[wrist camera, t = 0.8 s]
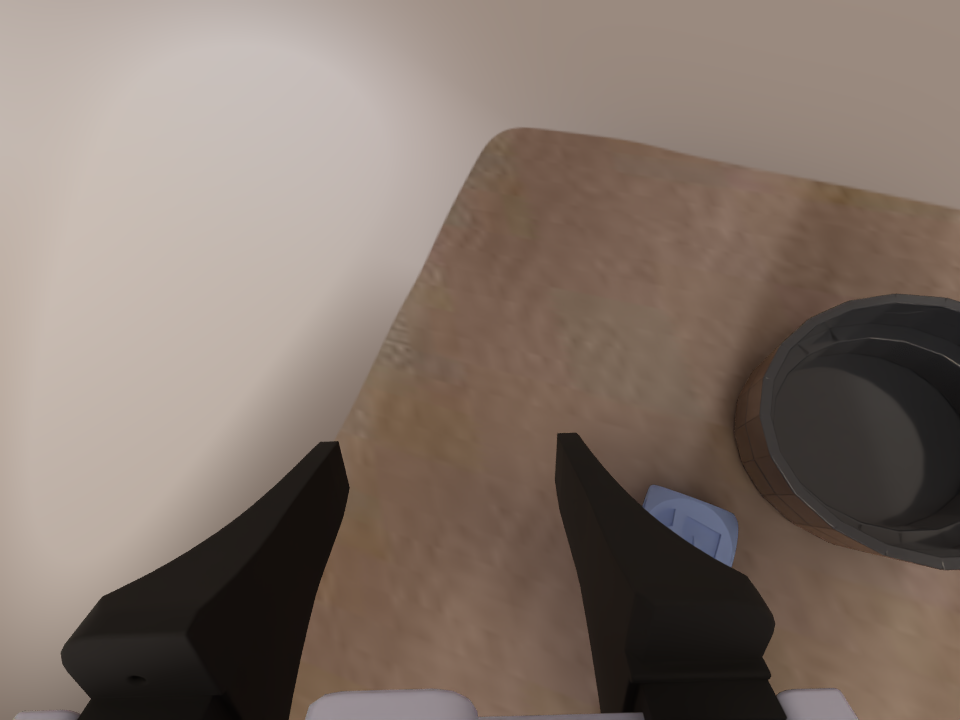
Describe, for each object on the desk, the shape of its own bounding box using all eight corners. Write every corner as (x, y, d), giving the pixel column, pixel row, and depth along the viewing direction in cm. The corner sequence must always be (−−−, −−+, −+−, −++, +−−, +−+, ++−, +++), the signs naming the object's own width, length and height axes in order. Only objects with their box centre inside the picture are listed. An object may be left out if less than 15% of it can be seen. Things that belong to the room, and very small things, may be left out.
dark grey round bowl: (1055, 445, 20) (1196, 429, 15) (875, 603, 21) (955, 637, 16) (833, 297, 25) (887, 247, 20) (687, 429, 25) (703, 413, 20)
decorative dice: (705, 589, 23) (721, 607, 19) (627, 555, 24) (627, 565, 21) (726, 513, 24) (745, 516, 20) (648, 484, 25) (652, 482, 21)
